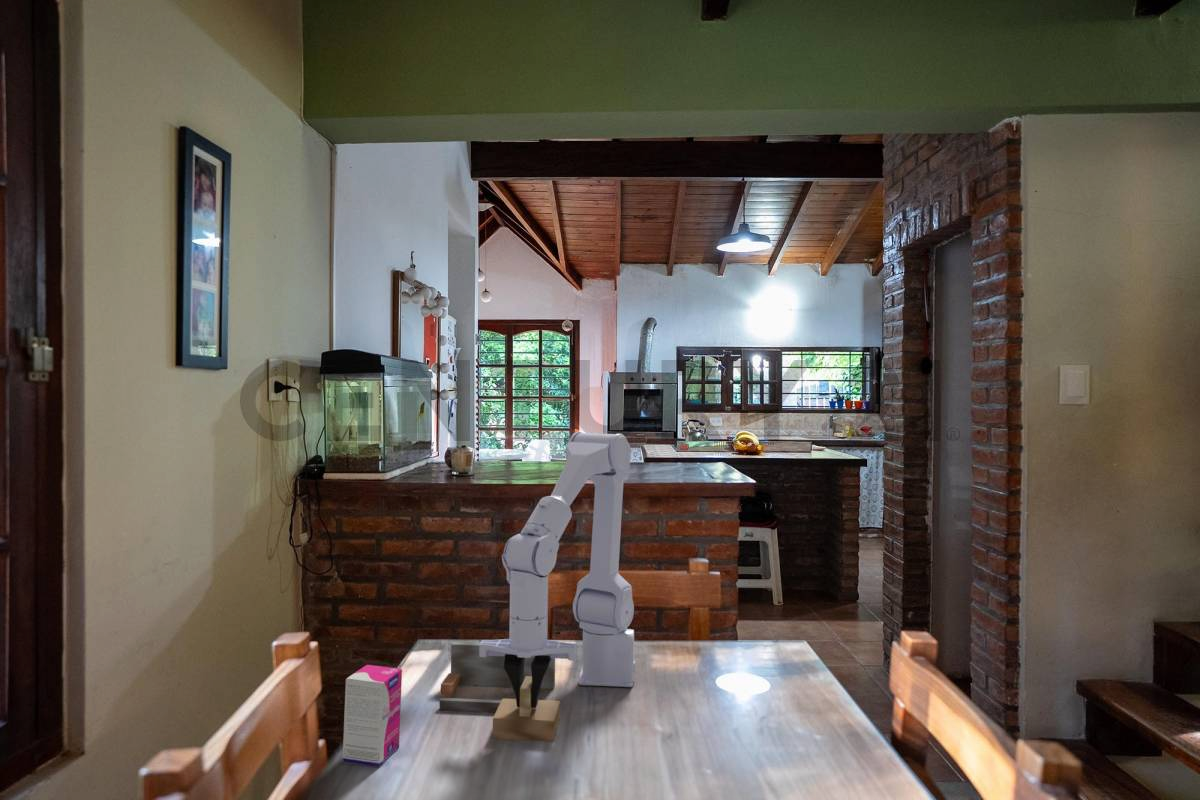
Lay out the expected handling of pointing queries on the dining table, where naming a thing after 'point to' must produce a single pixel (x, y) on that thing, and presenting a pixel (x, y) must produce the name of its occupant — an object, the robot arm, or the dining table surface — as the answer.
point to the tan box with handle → (526, 717)
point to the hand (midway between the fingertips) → (527, 705)
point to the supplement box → (372, 715)
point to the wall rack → (481, 677)
